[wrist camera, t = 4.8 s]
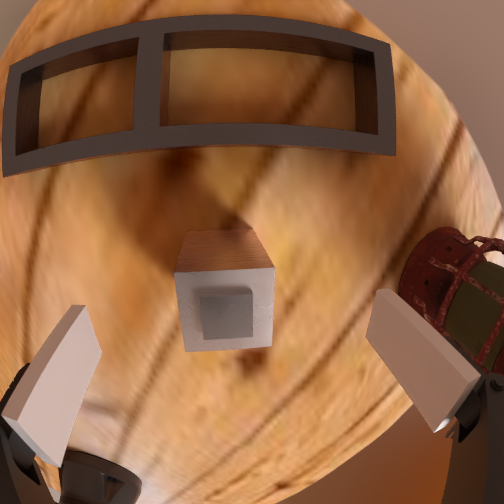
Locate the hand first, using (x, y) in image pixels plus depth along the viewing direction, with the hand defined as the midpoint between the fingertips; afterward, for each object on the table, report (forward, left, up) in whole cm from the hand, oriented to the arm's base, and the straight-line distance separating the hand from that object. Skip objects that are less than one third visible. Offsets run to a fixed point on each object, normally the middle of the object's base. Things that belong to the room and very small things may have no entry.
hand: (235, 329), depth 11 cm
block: (0, 0, -9) cm, 9 cm away
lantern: (+21, -3, -9) cm, 23 cm away
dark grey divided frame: (-2, +12, -9) cm, 15 cm away
